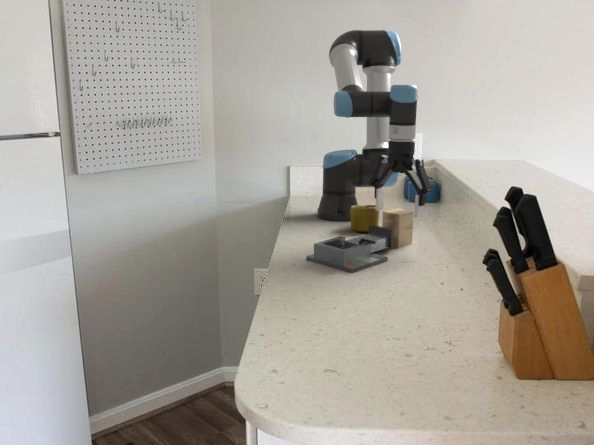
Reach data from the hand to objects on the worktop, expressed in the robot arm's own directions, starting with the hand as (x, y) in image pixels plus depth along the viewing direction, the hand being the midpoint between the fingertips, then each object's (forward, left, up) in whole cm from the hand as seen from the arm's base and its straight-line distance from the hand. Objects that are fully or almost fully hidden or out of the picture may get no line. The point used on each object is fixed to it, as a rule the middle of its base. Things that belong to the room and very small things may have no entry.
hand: (398, 213), depth 173 cm
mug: (-18, +8, -10) cm, 22 cm away
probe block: (0, 0, -10) cm, 10 cm away
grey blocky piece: (+1, -14, -8) cm, 16 cm away
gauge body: (0, -22, -9) cm, 24 cm away
